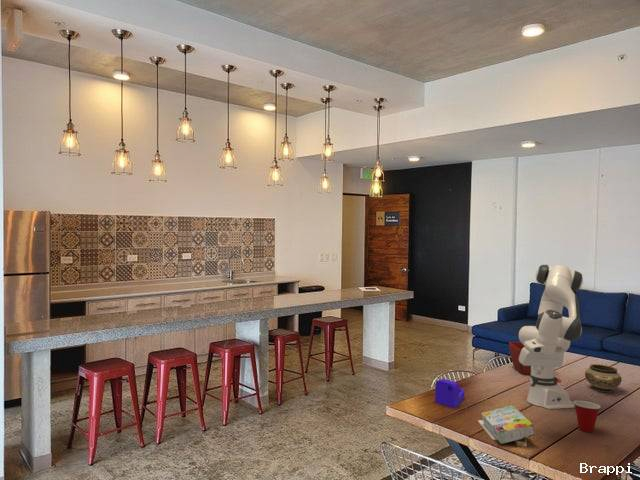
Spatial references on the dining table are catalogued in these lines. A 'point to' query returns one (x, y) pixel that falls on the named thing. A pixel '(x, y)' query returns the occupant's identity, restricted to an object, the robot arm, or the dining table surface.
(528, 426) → the snack box
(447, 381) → the bracket
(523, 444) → the tear bar
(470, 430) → the dining table surface
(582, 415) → the plastic cup
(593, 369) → the ceramic bowl
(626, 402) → the dining table surface
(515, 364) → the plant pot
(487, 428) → the mat
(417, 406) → the dining table surface
